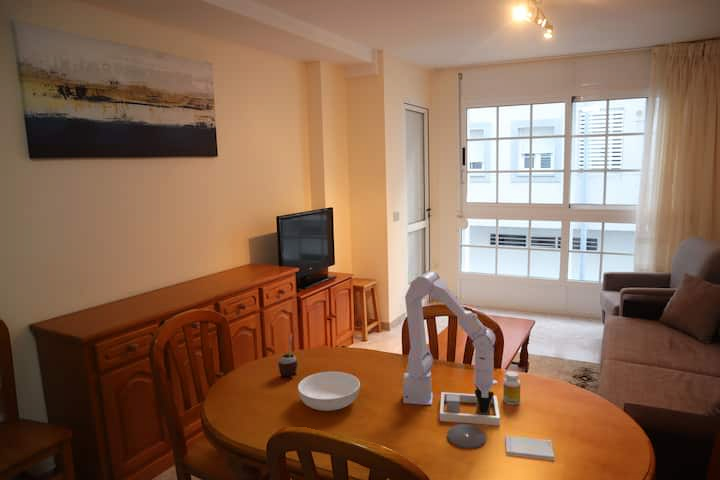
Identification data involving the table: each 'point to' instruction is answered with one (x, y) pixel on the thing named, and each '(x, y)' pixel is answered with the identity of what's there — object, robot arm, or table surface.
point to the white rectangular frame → (469, 417)
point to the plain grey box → (453, 403)
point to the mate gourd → (288, 364)
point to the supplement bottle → (511, 388)
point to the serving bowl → (329, 390)
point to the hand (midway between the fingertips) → (483, 408)
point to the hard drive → (529, 447)
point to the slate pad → (466, 436)
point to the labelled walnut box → (482, 412)
